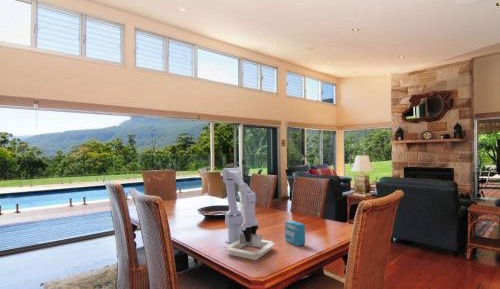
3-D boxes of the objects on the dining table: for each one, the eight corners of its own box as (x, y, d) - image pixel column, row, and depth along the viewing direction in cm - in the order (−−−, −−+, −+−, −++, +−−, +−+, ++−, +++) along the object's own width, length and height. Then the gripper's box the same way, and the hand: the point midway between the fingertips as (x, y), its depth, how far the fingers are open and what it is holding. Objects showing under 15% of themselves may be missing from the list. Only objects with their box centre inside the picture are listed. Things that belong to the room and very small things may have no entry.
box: (244, 240, 159) (243, 231, 159) (261, 244, 154) (261, 234, 154) (239, 243, 155) (239, 234, 155) (257, 246, 150) (257, 237, 150)
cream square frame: (244, 242, 169) (244, 236, 169) (277, 248, 159) (277, 242, 159) (222, 255, 150) (221, 248, 150) (257, 262, 139) (257, 255, 139)
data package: (285, 241, 170) (284, 221, 171) (290, 239, 173) (290, 219, 173) (299, 246, 161) (299, 225, 161) (305, 245, 163) (305, 224, 164)
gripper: (249, 218, 146) (249, 245, 146) (262, 213, 159) (263, 237, 159) (237, 217, 150) (238, 243, 150) (251, 211, 162) (252, 235, 162)
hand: (250, 240), depth 154 cm, fingers closed on box, 4 cm apart
